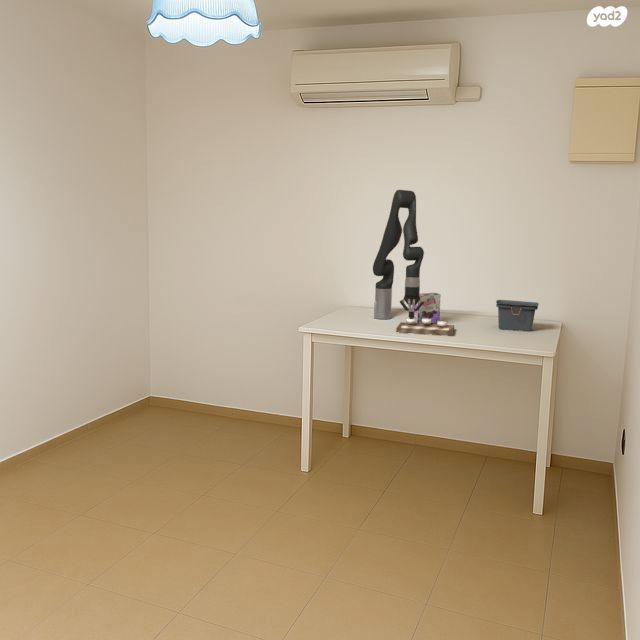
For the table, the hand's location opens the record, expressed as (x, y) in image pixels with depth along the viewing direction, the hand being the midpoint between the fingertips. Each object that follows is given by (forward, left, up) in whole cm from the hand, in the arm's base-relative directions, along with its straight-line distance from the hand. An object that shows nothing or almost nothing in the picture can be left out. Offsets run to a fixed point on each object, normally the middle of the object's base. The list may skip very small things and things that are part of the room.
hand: (411, 318), depth 348 cm
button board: (+8, -3, -6) cm, 10 cm away
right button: (+16, 0, -3) cm, 16 cm away
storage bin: (+53, +16, -6) cm, 55 cm away
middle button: (+8, 0, -2) cm, 8 cm away
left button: (0, 0, -2) cm, 2 cm away
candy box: (+6, +20, -6) cm, 22 cm away
